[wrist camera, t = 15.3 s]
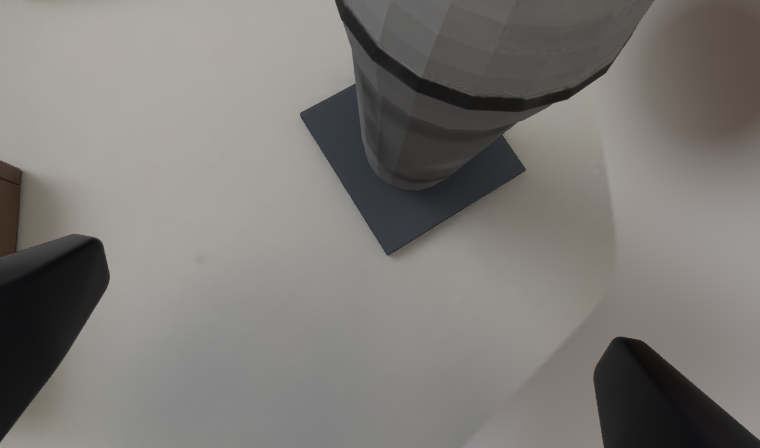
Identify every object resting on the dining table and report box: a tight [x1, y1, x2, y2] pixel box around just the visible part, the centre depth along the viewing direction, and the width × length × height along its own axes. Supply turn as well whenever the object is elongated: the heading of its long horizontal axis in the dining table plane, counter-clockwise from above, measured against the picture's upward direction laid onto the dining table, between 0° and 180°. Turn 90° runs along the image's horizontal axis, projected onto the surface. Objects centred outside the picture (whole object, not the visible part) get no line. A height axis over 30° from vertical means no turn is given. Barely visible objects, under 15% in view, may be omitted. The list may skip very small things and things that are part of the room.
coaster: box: [300, 84, 526, 255], centre depth 21 cm, size 8×8×1 cm
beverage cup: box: [335, 0, 654, 191], centre depth 11 cm, size 7×7×20 cm
